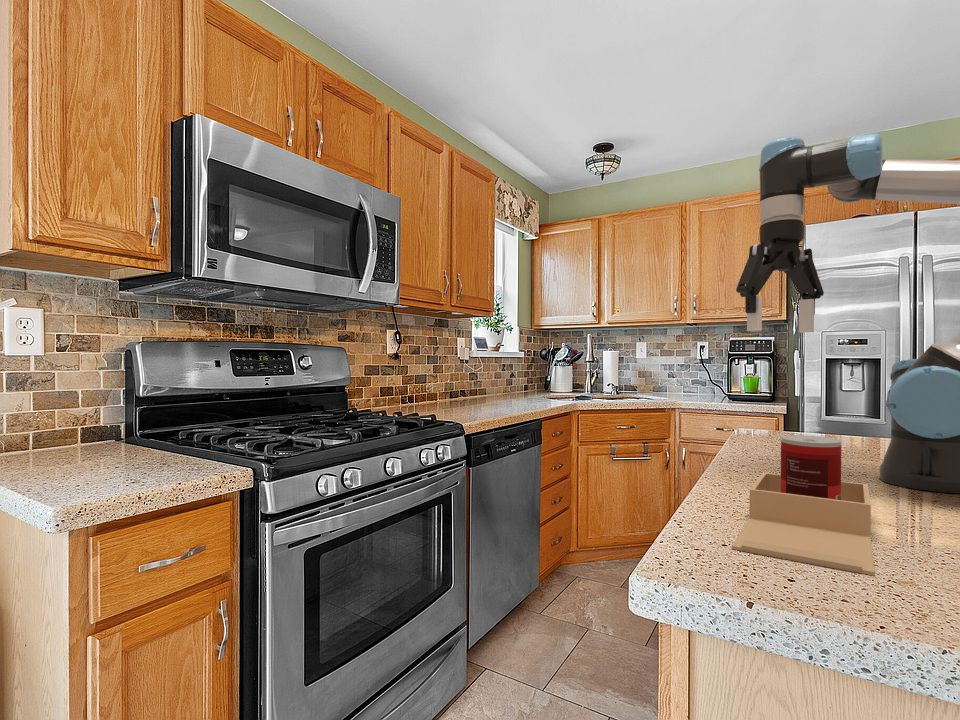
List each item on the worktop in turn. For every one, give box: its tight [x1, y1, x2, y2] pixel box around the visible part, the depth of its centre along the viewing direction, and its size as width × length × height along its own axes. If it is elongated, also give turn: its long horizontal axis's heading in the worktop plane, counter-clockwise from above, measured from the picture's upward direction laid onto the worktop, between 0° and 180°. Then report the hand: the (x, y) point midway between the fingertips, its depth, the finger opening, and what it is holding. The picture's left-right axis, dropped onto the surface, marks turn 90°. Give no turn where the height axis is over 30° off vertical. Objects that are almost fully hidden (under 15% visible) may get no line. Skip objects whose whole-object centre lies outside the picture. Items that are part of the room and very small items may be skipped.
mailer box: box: [731, 472, 876, 577], centre depth 74 cm, size 28×14×4 cm, turn 146°
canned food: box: [780, 434, 842, 500], centre depth 80 cm, size 8×8×11 cm
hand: (780, 331), depth 105 cm, fingers open, 13 cm apart
